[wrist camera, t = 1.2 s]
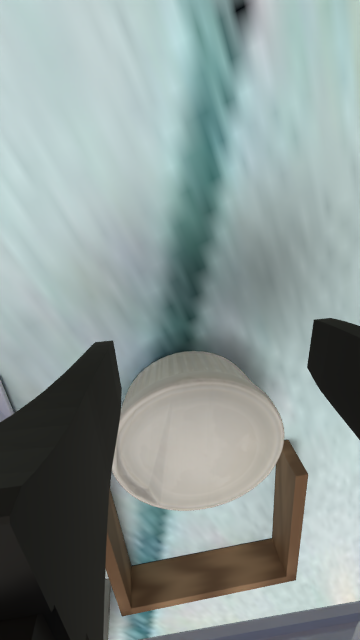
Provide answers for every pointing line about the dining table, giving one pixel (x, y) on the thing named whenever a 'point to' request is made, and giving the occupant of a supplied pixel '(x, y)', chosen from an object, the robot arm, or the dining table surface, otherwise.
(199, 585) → the box
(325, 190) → the dining table surface
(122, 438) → the ramekin
